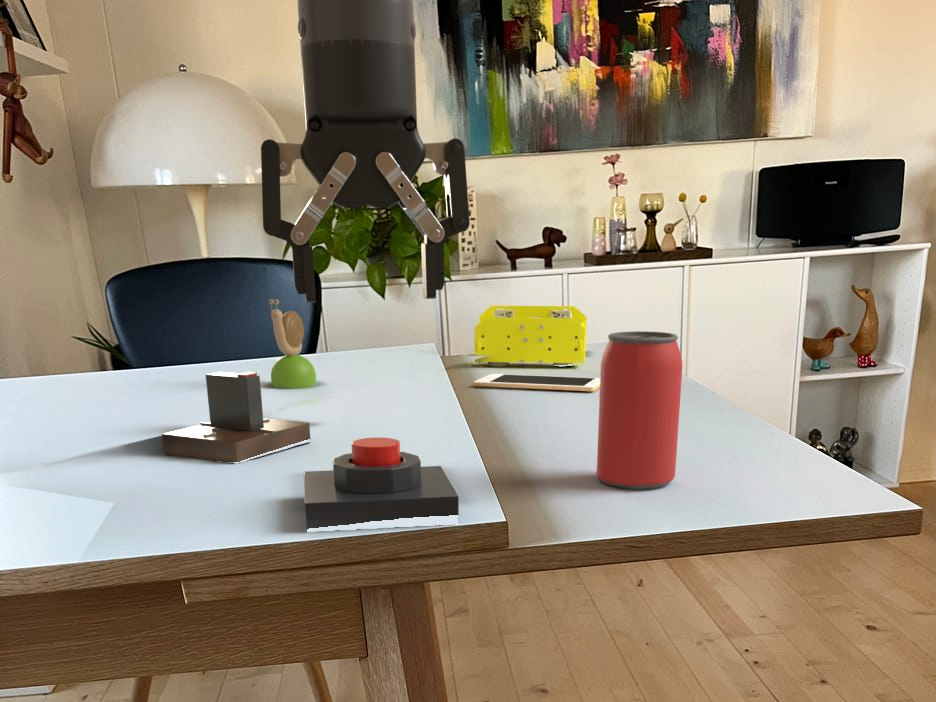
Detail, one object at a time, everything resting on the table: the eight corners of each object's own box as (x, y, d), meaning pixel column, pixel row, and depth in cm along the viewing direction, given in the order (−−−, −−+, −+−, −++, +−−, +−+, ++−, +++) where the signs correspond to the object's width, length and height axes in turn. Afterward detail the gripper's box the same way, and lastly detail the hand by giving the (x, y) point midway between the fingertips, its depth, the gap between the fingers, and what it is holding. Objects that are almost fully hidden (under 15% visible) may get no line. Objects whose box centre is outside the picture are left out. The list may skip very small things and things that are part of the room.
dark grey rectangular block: (210, 427, 101) (204, 371, 99) (224, 423, 103) (219, 369, 101) (250, 431, 99) (245, 375, 97) (264, 428, 101) (259, 372, 99)
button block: (306, 533, 75) (302, 478, 73) (305, 498, 84) (302, 448, 82) (458, 525, 76) (458, 471, 75) (441, 492, 85) (440, 443, 84)
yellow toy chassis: (585, 364, 157) (587, 305, 154) (583, 369, 152) (585, 309, 149) (480, 362, 159) (479, 305, 156) (474, 367, 154) (474, 308, 151)
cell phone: (491, 378, 143) (490, 373, 143) (606, 383, 138) (606, 378, 138) (472, 386, 136) (472, 381, 136) (593, 391, 132) (594, 386, 131)
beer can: (620, 494, 84) (627, 341, 80) (582, 476, 90) (587, 332, 85) (689, 486, 87) (700, 337, 82) (649, 470, 92) (657, 329, 88)
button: (353, 471, 77) (352, 447, 76) (351, 461, 80) (350, 438, 79) (402, 469, 77) (401, 446, 77) (398, 459, 81) (397, 436, 80)
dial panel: (238, 464, 95) (235, 441, 94) (163, 454, 99) (160, 431, 98) (311, 442, 104) (310, 421, 103) (240, 434, 108) (238, 413, 107)
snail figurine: (260, 403, 126) (251, 299, 121) (285, 395, 131) (278, 295, 127) (301, 405, 124) (293, 300, 120) (325, 397, 130) (318, 296, 125)
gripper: (455, 51, 73) (459, 294, 80) (248, 49, 71) (270, 299, 77) (473, 35, 67) (477, 301, 73) (246, 32, 64) (269, 307, 70)
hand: (370, 300), depth 75 cm, fingers open, 8 cm apart
